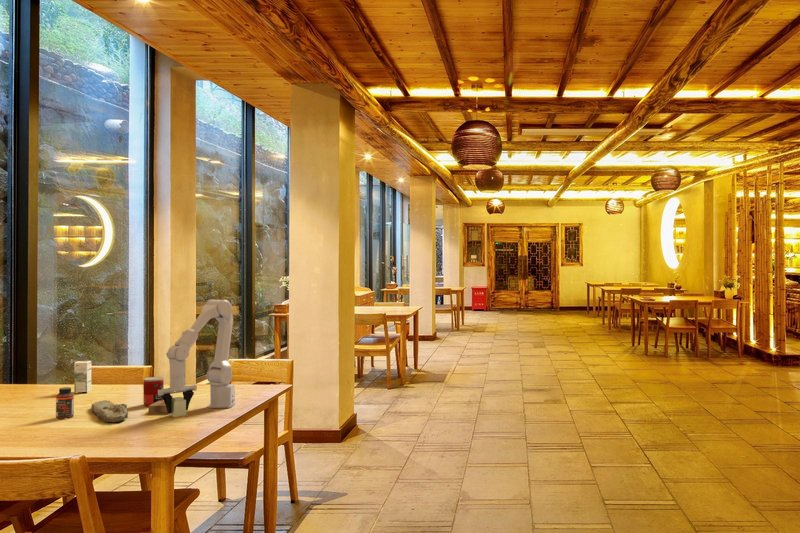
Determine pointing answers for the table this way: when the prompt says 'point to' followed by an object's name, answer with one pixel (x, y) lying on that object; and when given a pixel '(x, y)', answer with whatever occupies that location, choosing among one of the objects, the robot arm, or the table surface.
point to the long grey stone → (110, 411)
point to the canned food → (152, 390)
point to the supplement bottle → (64, 403)
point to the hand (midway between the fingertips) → (177, 411)
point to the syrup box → (82, 376)
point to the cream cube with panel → (178, 407)
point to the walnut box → (158, 408)
